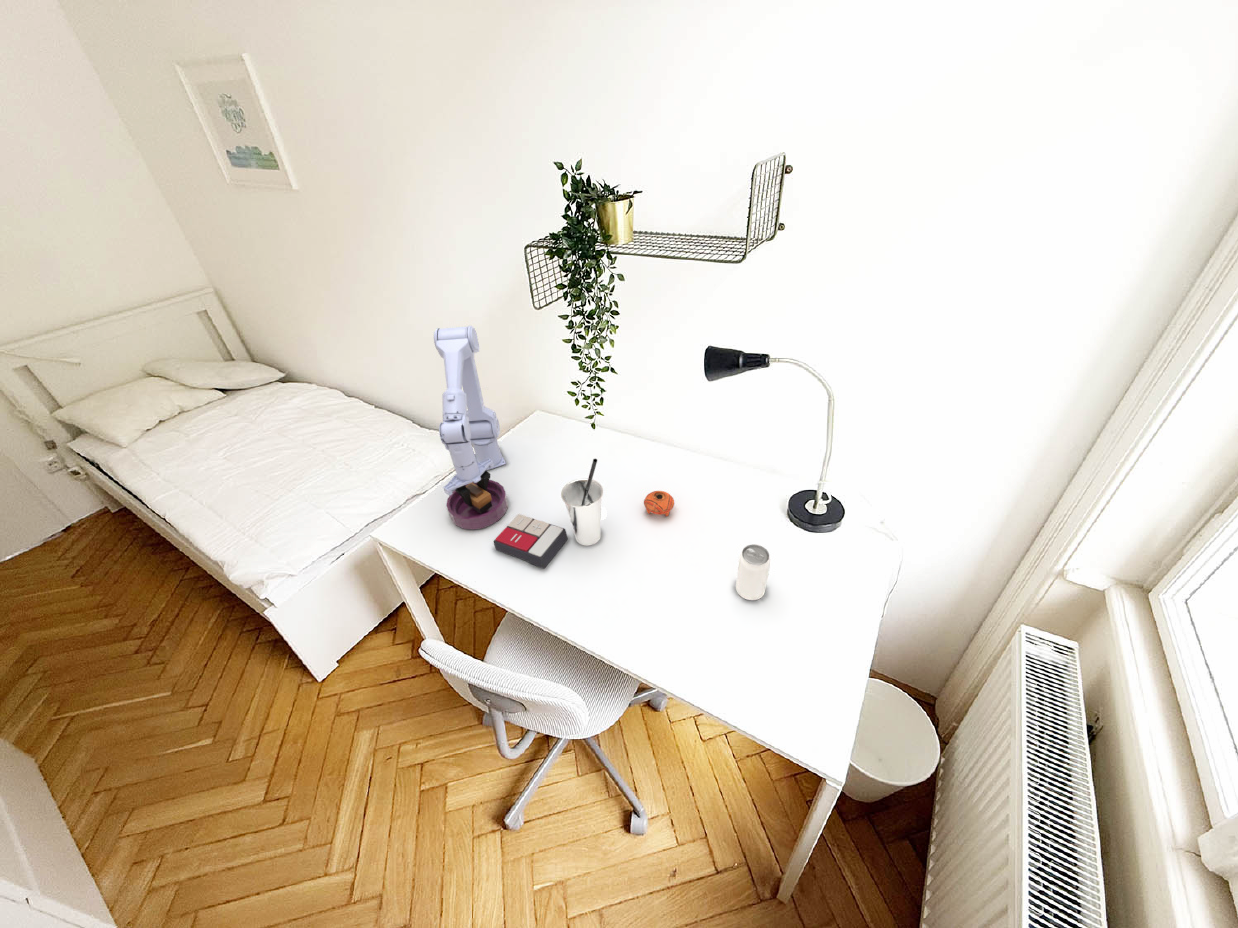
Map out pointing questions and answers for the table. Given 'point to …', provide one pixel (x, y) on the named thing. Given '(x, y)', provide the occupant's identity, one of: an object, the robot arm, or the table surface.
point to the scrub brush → (479, 498)
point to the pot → (659, 503)
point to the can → (752, 572)
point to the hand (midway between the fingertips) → (476, 499)
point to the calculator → (531, 540)
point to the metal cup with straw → (584, 507)
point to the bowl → (470, 517)
